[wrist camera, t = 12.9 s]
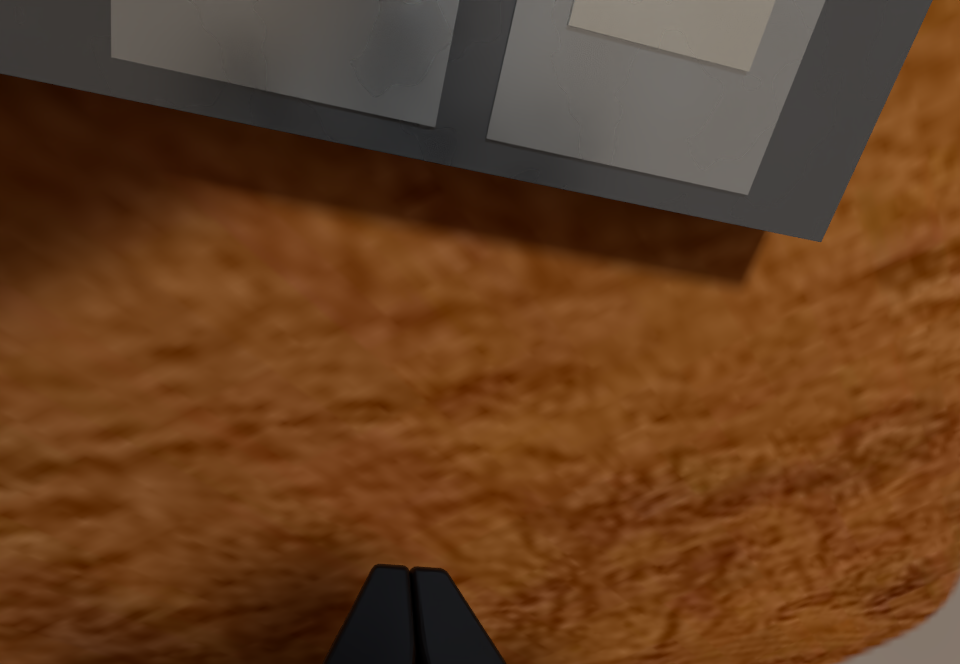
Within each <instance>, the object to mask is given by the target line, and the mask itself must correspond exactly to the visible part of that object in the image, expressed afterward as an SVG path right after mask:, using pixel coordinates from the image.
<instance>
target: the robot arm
mask: <svg viewBox="0 0 960 664" xmlns="http://www.w3.org/2000/svg"><path fill="white" fill-rule="evenodd" d="M322 664H506V662H505V661H504V659H503V657H502V656H501V654H500V653H499V651H498V650H497V648H496V647H495V645H494V644H493V642H492V640H491V639H490V637H489V636H488V634H487V633H486V631H485V630H484V628H483V626H482V625H481V623H480V622H479V620H478V619H477V617H476V616H475V614H474V613H473V611H472V609H471V608H470V606H469V605H468V603H467V602H466V600H465V599H464V597H463V595H462V594H461V592H460V591H459V589H458V588H457V586H456V585H455V583H454V581H453V580H452V578H451V577H450V575H449V574H448V572H447V571H445V570H444V569H442V568H431V567H413V568H412V569H411V570H410V571H409V569H408V568H407V567H406V566H403V565H389V564H377V565H375V566H374V567H373V568H372V569H371V571H370V573H369V575H368V577H367V579H366V581H365V583H364V585H363V587H362V588H361V590H360V592H359V594H358V596H357V598H356V600H355V602H354V604H353V606H352V608H351V610H350V612H349V613H348V615H347V617H346V619H345V621H344V623H343V625H342V627H341V629H340V631H339V633H338V635H337V637H336V638H335V640H334V642H333V644H332V646H331V648H330V650H329V652H328V654H327V656H326V658H325V660H324V662H323V663H322Z"/></svg>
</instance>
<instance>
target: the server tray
mask: <svg viewBox="0 0 960 664" xmlns="http://www.w3.org/2000/svg"><path fill="white" fill-rule="evenodd" d="M931 2H932V0H0V73H1V74H5V75H10V76H15V77H20V78H25V79H30V80H35V81H39V82H44V83H49V84H54V85H59V86H64V87H69V88H74V89H78V90H83V91H88V92H93V93H98V94H103V95H108V96H112V97H117V98H122V99H127V100H132V101H137V102H142V103H146V104H151V105H156V106H161V107H166V108H171V109H176V110H181V111H185V112H190V113H195V114H200V115H205V116H210V117H215V118H219V119H224V120H229V121H234V122H239V123H244V124H249V125H254V126H258V127H263V128H268V129H273V130H278V131H283V132H288V133H292V134H297V135H302V136H307V137H312V138H317V139H322V140H326V141H331V142H336V143H341V144H346V145H351V146H356V147H361V148H365V149H370V150H375V151H380V152H385V153H390V154H395V155H399V156H404V157H409V158H414V159H419V160H424V161H429V162H433V163H438V164H443V165H448V166H453V167H458V168H463V169H468V170H472V171H477V172H482V173H487V174H492V175H497V176H502V177H506V178H511V179H516V180H521V181H526V182H531V183H536V184H540V185H545V186H550V187H555V188H560V189H565V190H570V191H575V192H579V193H584V194H589V195H594V196H599V197H604V198H609V199H613V200H618V201H623V202H628V203H633V204H638V205H643V206H647V207H652V208H657V209H662V210H667V211H672V212H677V213H682V214H686V215H691V216H696V217H701V218H706V219H711V220H716V221H720V222H725V223H730V224H735V225H740V226H745V227H750V228H754V229H759V230H764V231H769V232H774V233H779V234H784V235H789V236H793V237H798V238H803V239H808V240H813V241H818V242H821V241H822V239H823V237H824V235H825V233H826V230H827V228H828V226H829V224H830V222H831V220H832V217H833V215H834V213H835V211H836V209H837V207H838V204H839V202H840V200H841V198H842V196H843V193H844V191H845V189H846V187H847V185H848V183H849V180H850V178H851V176H852V174H853V172H854V170H855V167H856V165H857V163H858V161H859V159H860V157H861V154H862V152H863V150H864V148H865V146H866V144H867V141H868V139H869V137H870V135H871V133H872V130H873V128H874V126H875V124H876V122H877V120H878V117H879V115H880V113H881V111H882V109H883V107H884V104H885V102H886V100H887V98H888V96H889V94H890V91H891V89H892V87H893V85H894V83H895V80H896V78H897V76H898V74H899V72H900V70H901V67H902V65H903V63H904V61H905V59H906V57H907V54H908V52H909V50H910V48H911V46H912V44H913V41H914V39H915V37H916V35H917V33H918V31H919V28H920V26H921V24H922V22H923V20H924V17H925V15H926V13H927V11H928V9H929V7H930V4H931Z"/></svg>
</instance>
